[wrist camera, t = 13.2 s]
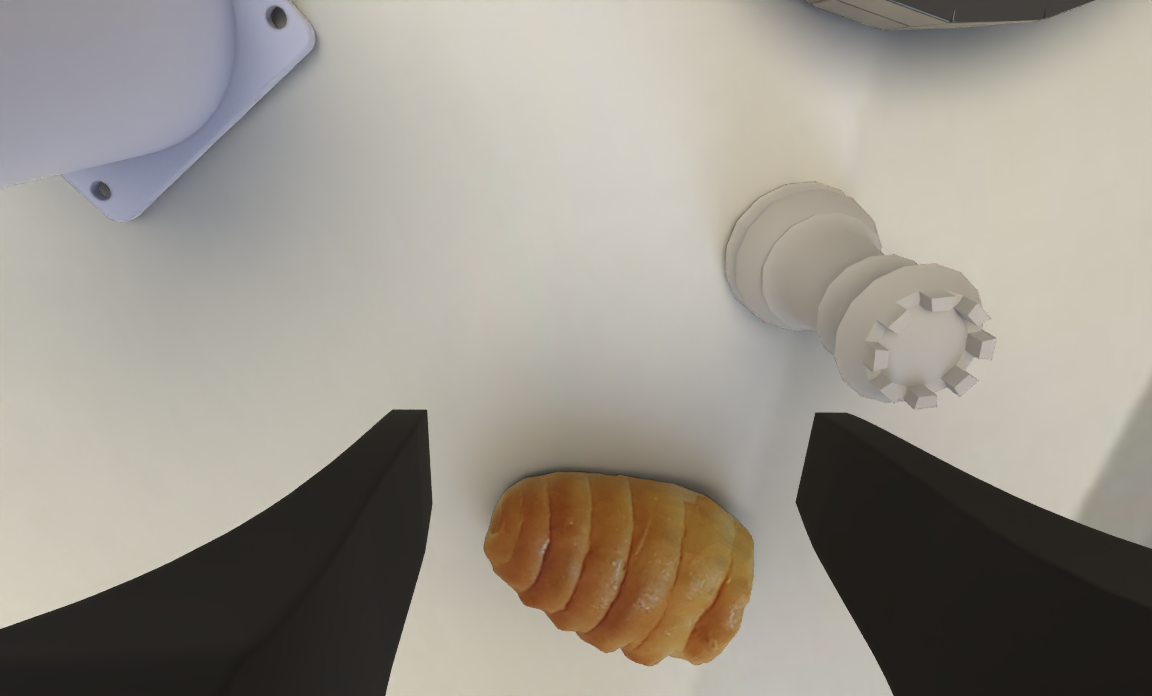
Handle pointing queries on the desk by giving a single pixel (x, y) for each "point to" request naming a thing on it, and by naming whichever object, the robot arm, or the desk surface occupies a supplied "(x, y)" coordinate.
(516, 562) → the pastry
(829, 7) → the pan
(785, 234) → the rook chess piece
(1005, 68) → the desk surface
